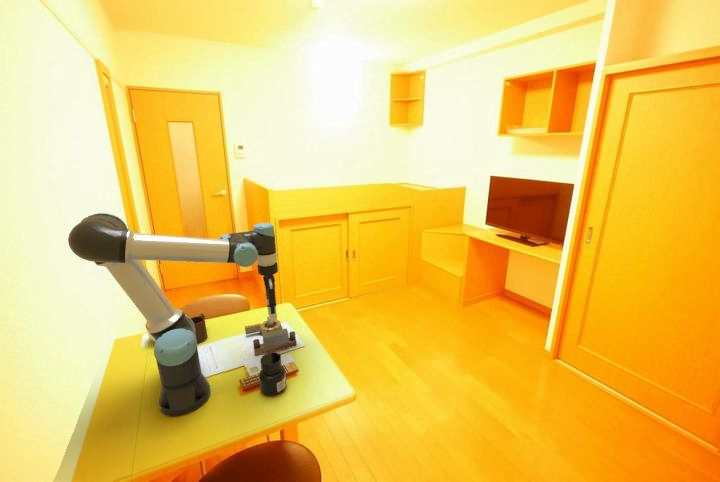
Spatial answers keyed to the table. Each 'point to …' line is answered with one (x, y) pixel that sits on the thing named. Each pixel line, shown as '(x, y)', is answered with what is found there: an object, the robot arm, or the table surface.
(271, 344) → the bar
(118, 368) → the table surface
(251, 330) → the golden ring with handle
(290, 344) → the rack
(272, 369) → the ink bottle
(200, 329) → the mug
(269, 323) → the nut station
